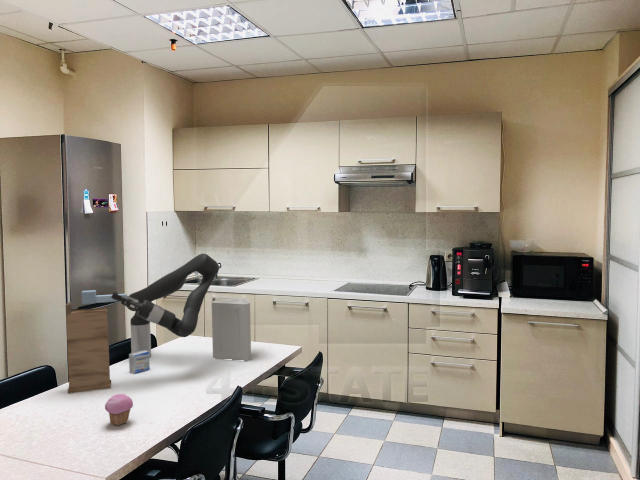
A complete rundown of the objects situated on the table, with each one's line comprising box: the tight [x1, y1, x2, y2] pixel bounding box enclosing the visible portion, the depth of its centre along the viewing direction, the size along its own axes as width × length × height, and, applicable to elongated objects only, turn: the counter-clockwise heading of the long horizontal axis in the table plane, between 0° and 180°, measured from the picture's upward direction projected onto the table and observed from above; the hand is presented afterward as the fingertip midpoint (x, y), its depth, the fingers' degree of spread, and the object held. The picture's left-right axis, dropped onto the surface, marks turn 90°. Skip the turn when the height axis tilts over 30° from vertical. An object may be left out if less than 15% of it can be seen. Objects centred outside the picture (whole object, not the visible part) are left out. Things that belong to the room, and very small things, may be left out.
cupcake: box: [104, 393, 134, 427], centre depth 172 cm, size 9×9×10 cm
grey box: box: [211, 297, 252, 362], centre depth 250 cm, size 19×15×28 cm
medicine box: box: [128, 350, 151, 375], centre depth 229 cm, size 8×4×9 cm, turn 143°
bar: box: [81, 289, 128, 305], centre depth 207 cm, size 5×17×5 cm, turn 110°
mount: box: [65, 301, 112, 395], centre depth 206 cm, size 7×16×36 cm, turn 110°
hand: (112, 294), depth 208 cm, fingers closed on bar, 2 cm apart
